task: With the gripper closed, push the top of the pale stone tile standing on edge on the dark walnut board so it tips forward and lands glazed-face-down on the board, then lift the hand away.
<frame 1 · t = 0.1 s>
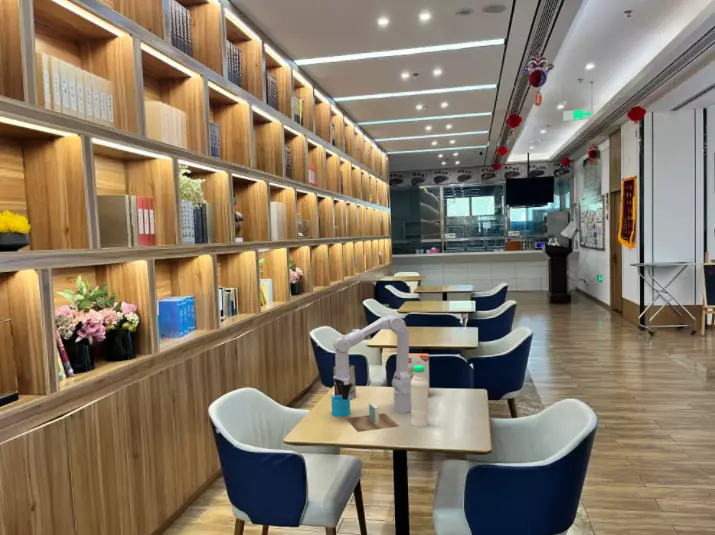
hand: (343, 397, 226), 10 cm above the table, tool pointing down, fingers open, 7 cm apart
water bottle: (420, 426, 217), on the table
board: (371, 424, 220), on the table
mug: (342, 415, 234), on the table
tile: (374, 421, 220), point 1 cm above the table, touching board
cracker box: (415, 396, 260), on the table
coffee box: (345, 398, 260), on the table
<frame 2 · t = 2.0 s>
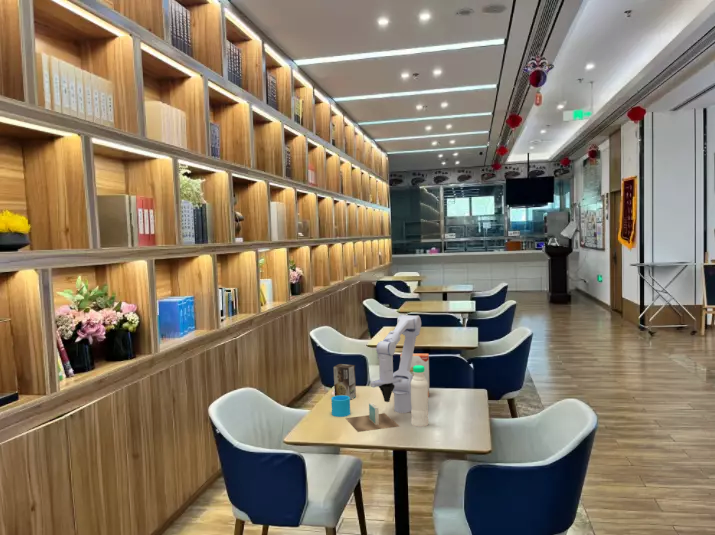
hand: (386, 401, 222), 9 cm above the table, tool pointing down, fingers closed
nothing on the table moved.
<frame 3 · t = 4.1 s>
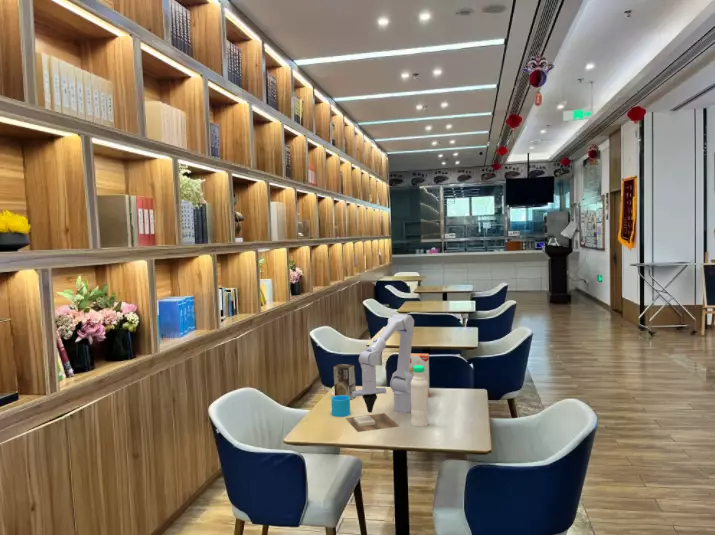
hand: (369, 411, 219), 5 cm above the table, tool pointing down, fingers closed
tile: (372, 420, 220), point 2 cm above the table, tilted 90°, touching board
everything else where it was.
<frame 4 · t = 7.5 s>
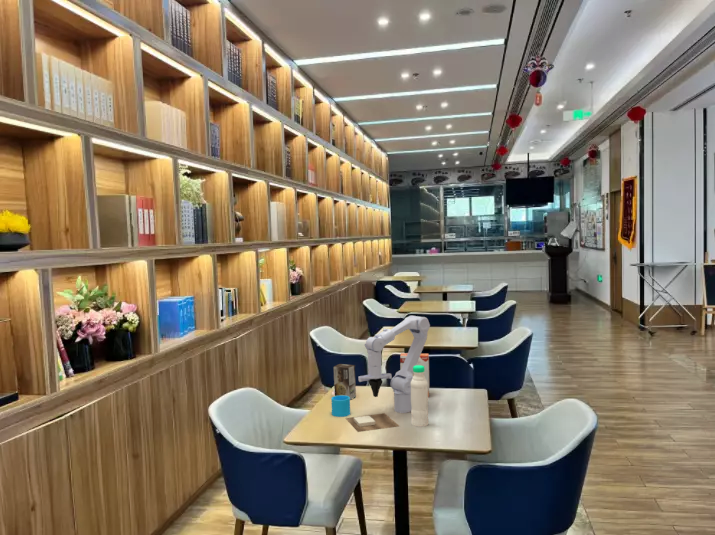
hand: (375, 396, 226), 10 cm above the table, tool pointing down, fingers closed
nothing on the table moved.
at the end: tile tilted 90°; tile inside the target area (3.2 cm from its centre), point 1.8 cm above the table; tile touching board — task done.
